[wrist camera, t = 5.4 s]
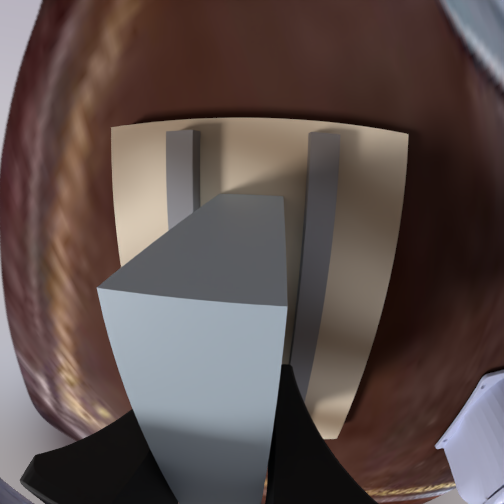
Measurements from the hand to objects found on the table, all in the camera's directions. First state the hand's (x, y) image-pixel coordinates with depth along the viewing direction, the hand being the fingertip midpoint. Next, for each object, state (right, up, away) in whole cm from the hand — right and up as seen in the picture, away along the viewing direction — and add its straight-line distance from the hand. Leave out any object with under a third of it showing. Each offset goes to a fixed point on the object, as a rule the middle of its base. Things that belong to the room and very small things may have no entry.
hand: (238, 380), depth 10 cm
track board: (0, +2, +4) cm, 4 cm away
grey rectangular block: (0, +1, +3) cm, 3 cm away
